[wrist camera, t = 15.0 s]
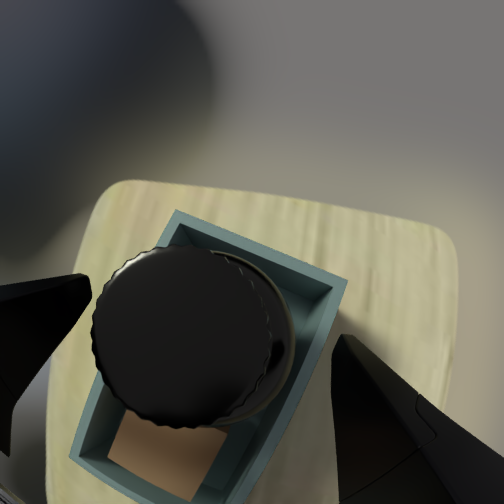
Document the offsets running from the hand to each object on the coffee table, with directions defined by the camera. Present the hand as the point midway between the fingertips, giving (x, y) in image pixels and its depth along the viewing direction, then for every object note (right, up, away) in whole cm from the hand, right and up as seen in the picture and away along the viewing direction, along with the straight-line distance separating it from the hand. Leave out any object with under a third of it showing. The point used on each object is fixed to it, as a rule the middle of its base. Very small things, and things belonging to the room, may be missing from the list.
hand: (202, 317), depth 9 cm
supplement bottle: (0, -4, +9) cm, 10 cm away
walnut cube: (-3, -9, +7) cm, 12 cm away
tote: (-1, -6, +9) cm, 11 cm away
